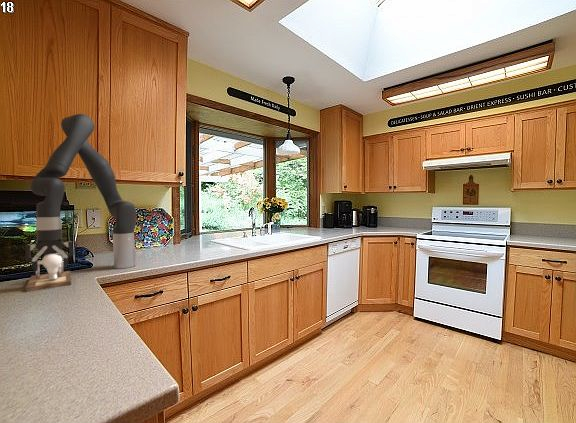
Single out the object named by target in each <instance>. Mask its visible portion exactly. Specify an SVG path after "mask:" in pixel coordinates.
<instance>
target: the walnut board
mask: <svg viewBox="0 0 576 423" xmlns="http://www.w3.org/2000/svg"><path fill="white" fill-rule="evenodd" d="M63 272H64V273H62V277H65V276H66V282H59V283H52V284H45V285H39V286H35V284H36V281H37V280H43V279H49V273H44V274H40V278H39V279H36V274H35V275H31V276H30V278H29V280H28V282H27V284H26V287H25V291H26V292H34V291H39V290H40V291H41V290H45V289H52V288H57V287H58V288H59V287H65V286H70V285H72V282H71V279H72V278H71V270H66V271H63ZM57 277H58V273H57Z"/></svg>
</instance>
